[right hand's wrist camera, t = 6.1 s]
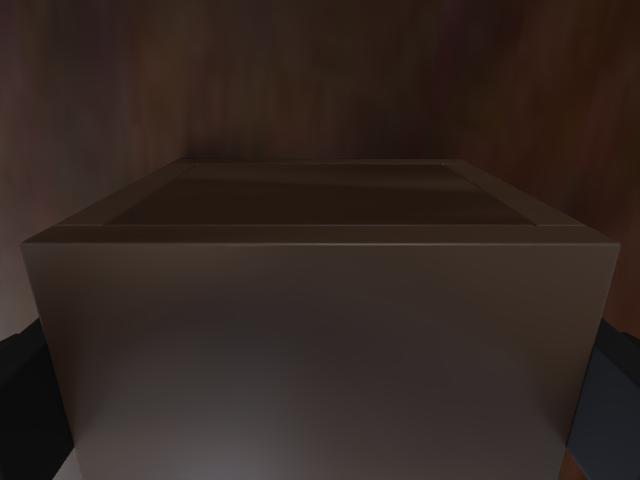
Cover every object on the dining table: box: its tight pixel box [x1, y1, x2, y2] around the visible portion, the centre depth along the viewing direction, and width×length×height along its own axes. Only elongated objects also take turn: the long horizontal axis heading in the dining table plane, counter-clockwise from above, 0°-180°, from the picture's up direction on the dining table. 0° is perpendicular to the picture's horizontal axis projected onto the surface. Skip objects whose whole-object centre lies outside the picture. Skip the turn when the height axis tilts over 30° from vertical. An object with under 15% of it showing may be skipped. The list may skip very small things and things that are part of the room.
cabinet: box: [20, 159, 621, 480], centre depth 15 cm, size 21×11×9 cm, turn 0°
